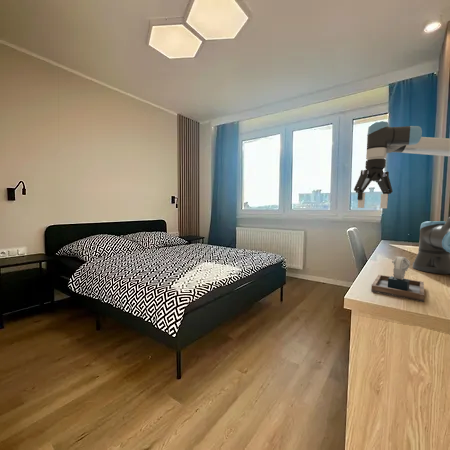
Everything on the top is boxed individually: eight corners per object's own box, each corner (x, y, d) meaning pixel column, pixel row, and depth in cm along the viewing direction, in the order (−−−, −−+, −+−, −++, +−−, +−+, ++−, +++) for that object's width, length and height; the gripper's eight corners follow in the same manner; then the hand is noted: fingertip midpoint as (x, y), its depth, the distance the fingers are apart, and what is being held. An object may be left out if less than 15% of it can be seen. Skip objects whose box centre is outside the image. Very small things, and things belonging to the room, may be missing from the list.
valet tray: (378, 279, 98) (378, 274, 98) (423, 287, 89) (423, 281, 89) (371, 291, 84) (371, 285, 83) (423, 302, 75) (424, 295, 75)
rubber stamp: (410, 287, 87) (412, 256, 86) (405, 292, 81) (408, 259, 80) (391, 283, 91) (393, 254, 90) (386, 287, 85) (388, 257, 84)
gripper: (388, 163, 114) (384, 208, 116) (346, 158, 106) (343, 207, 108) (404, 160, 107) (400, 208, 109) (361, 155, 99) (358, 207, 100)
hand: (372, 208), depth 108 cm, fingers open, 13 cm apart
